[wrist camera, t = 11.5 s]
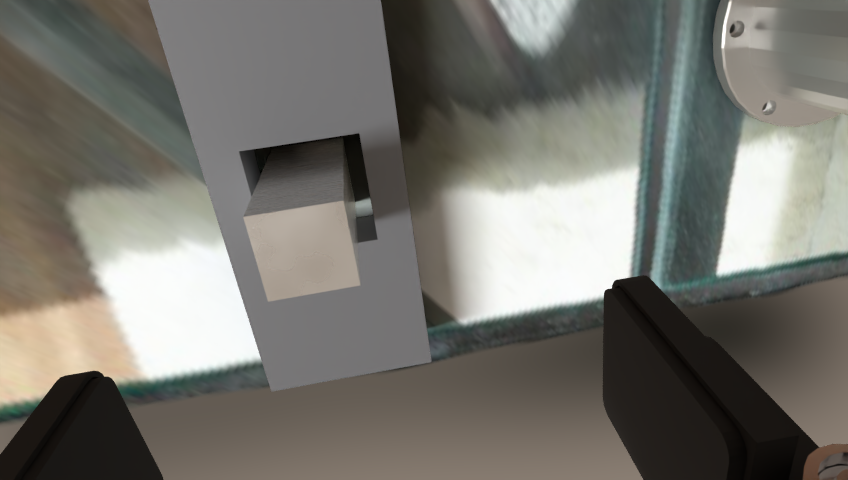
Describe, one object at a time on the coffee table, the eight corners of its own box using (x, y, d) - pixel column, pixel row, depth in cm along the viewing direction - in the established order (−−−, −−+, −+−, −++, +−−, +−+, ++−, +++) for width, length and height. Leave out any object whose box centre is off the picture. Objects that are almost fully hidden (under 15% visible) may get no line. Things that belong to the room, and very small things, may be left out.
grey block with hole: (366, -71, 26) (369, -78, 23) (423, 329, 37) (431, 361, 34) (158, -45, 26) (133, -49, 22) (277, 356, 36) (271, 391, 33)
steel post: (342, 137, 31) (343, 200, 22) (355, 202, 32) (360, 285, 23) (271, 148, 30) (243, 217, 21) (288, 213, 32) (268, 301, 23)
